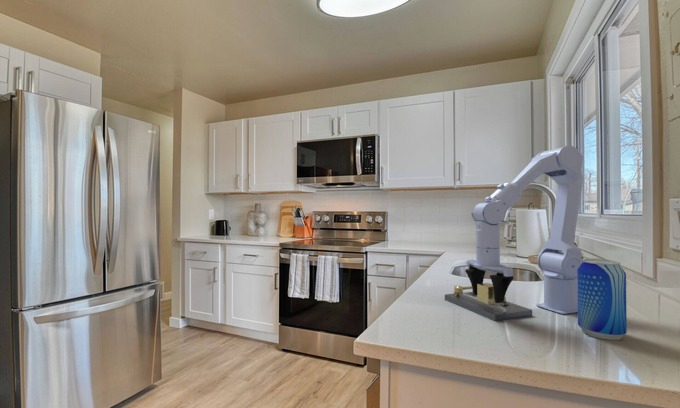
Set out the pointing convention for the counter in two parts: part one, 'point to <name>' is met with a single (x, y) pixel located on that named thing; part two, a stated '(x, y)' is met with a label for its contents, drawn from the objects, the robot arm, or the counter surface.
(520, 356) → the counter surface
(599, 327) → the beer can
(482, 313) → the bolt plate
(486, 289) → the leg
